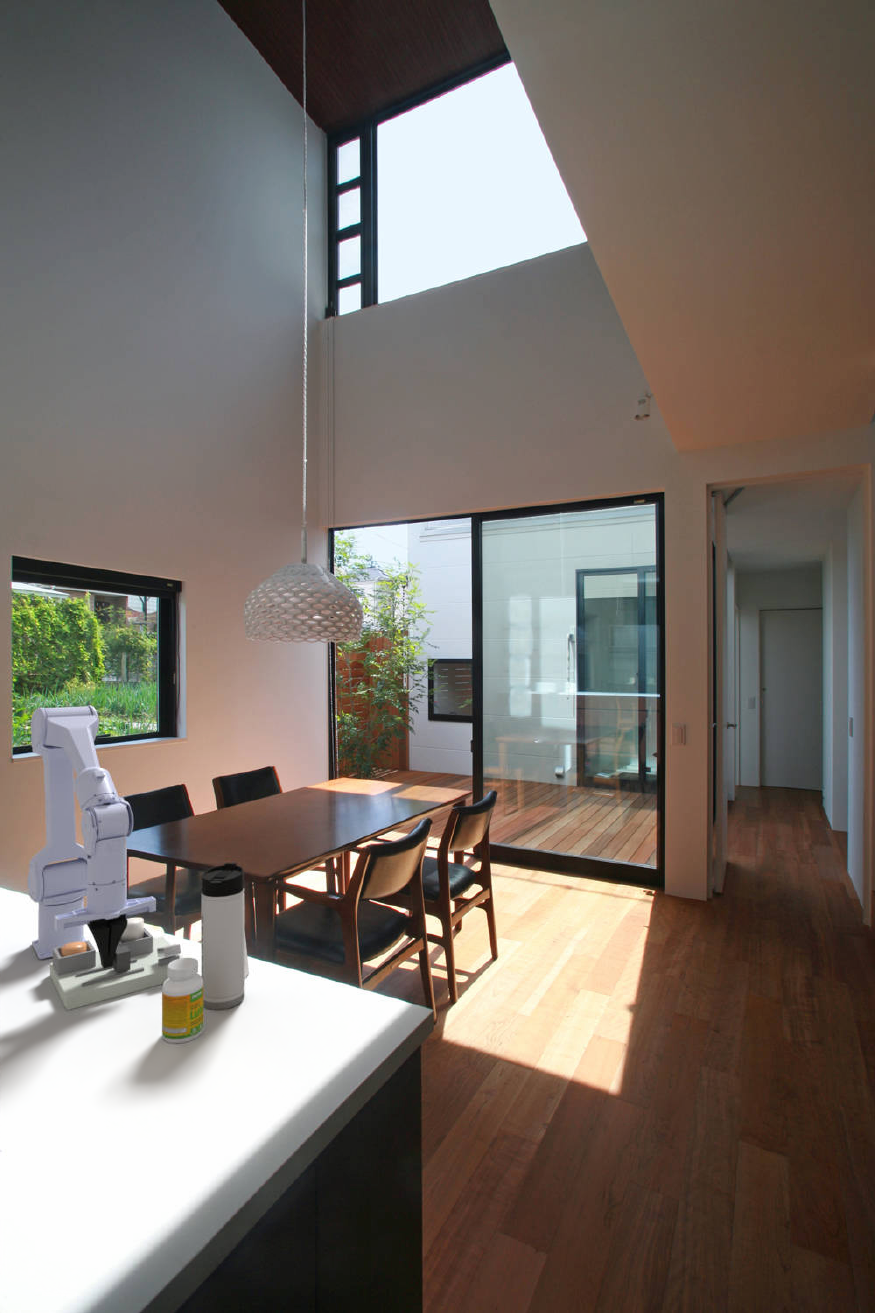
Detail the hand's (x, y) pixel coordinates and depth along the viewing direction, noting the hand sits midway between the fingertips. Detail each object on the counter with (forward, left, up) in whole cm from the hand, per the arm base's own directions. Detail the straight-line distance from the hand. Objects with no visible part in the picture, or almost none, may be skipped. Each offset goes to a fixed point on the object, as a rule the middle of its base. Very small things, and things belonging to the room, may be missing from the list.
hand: (106, 965), depth 109 cm
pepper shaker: (+9, +17, -4) cm, 20 cm away
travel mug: (+16, +13, -4) cm, 21 cm away
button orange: (-7, -4, -1) cm, 8 cm away
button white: (-7, +6, +1) cm, 9 cm away
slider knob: (0, +2, -1) cm, 2 cm away
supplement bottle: (+22, +5, -4) cm, 23 cm away
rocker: (+2, +9, +1) cm, 9 cm away
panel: (-3, +3, -3) cm, 5 cm away
